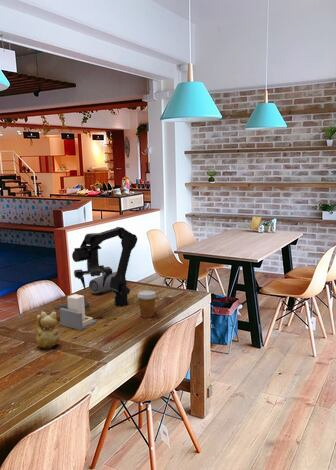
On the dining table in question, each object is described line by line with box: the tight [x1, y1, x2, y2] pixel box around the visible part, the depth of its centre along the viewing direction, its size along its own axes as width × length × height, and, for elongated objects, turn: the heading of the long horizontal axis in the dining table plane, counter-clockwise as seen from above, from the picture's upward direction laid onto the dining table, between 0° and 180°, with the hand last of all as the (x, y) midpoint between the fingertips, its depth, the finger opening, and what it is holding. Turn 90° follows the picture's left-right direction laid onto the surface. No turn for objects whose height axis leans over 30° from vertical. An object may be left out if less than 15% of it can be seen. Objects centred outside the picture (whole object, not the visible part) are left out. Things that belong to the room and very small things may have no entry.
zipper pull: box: [53, 296, 90, 311], centre depth 219 cm, size 9×7×25 cm
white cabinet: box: [66, 293, 86, 322], centre depth 202 cm, size 6×6×13 cm
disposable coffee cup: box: [136, 289, 157, 318], centre depth 213 cm, size 10×10×12 cm
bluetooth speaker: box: [88, 271, 117, 294], centre depth 256 cm, size 23×9×10 cm, turn 145°
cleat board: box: [59, 308, 97, 331], centre depth 203 cm, size 11×13×8 cm
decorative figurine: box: [35, 311, 61, 350], centre depth 177 cm, size 10×8×15 cm
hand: (93, 288), depth 217 cm, fingers open, 9 cm apart
